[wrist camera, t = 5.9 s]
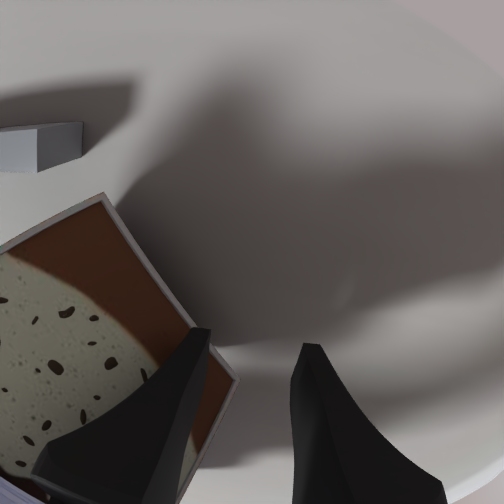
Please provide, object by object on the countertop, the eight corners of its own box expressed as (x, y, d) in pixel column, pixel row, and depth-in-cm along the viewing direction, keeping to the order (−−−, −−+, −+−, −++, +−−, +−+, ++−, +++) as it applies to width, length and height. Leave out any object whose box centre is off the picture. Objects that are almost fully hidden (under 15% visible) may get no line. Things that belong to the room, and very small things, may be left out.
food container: (42, 214, 13) (-96, 335, 5) (83, 156, 9) (-141, 335, 2) (176, 388, 17) (86, 513, 9) (257, 398, 13) (149, 574, 6)
